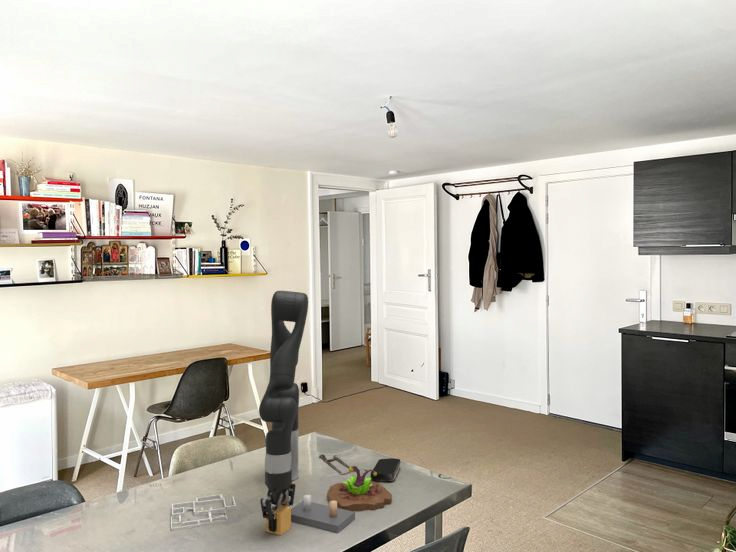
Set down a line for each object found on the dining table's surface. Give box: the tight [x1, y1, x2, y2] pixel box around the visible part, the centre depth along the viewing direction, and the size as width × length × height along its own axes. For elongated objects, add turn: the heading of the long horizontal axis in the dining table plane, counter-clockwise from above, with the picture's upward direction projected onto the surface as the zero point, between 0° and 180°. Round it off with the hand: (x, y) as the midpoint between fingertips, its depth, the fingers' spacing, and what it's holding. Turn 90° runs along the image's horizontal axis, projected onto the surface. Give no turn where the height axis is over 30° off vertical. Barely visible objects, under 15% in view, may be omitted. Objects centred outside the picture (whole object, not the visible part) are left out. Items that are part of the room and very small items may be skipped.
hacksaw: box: [319, 454, 368, 476], centre depth 212 cm, size 24×10×2 cm, turn 28°
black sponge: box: [369, 457, 401, 482], centre depth 202 cm, size 16×8×4 cm, turn 167°
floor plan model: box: [170, 493, 237, 532], centre depth 174 cm, size 19×25×2 cm
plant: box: [326, 465, 393, 512], centre depth 181 cm, size 20×20×11 cm
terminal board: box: [291, 494, 356, 534], centre depth 167 cm, size 18×10×6 cm, turn 63°
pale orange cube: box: [265, 505, 292, 536], centre depth 160 cm, size 5×5×6 cm
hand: (278, 526), depth 160 cm, fingers closed on pale orange cube, 5 cm apart
